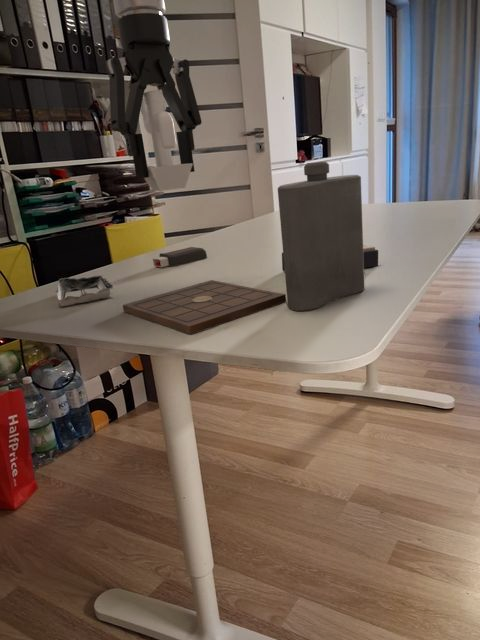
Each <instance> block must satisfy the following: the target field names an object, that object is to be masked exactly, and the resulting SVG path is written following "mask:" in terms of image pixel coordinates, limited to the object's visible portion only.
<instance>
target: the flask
mask: <svg viewBox="0 0 480 640" xmlns="http://www.w3.org/2000/svg"><path fill="white" fill-rule="evenodd" d="M303 173H304V174H303V175H304V176H306V180H303V181H296V182H292V183H291V182H290V183H286V184H282V185H279V186H278V187H277V199H278V210H279V220H280V231H281V232H280V233H281V242H282V243H281V245H282V253H283V256H284V268H285V271H284V278H285V287H286V288H285V290H286V302H287V307H288V309H290V310H292V311H294V312H295V311H296V312H308V311H312V310H316V309H318V308H319V307H322V306H324V305H326V304H328V303H330V302H333V301H336V300H338V299H341V298H344V297H348V296H351V295H355V294H359V293H361V292H363V291H364V290H365V268H364V257H363V245H364V234H363V233H364V229H363V201H362V200H363V199H362V198H363V197H362V176H361V175H359V174H346V175H337V176H336V175H335V176H328V174H329V173H330V163H329V162H327V161H315V162H306V164H304V166H303Z"/></svg>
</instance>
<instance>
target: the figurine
mask: <svg viewBox="0 0 480 640" xmlns="http://www.w3.org/2000/svg"><path fill="white" fill-rule="evenodd" d="M166 104H167V103H166V100H165V98H164V96H163V93H162V90H161V89H160V90H158V89H156V90H148V91H146V92H145V91H144V95H143V100H142V105H141V114H142V115H141V116H142V120H143V121H142V122H143V125H144V128H145V131H146V132H147V133H148V134H151V140H152V146H153V152H154V158H155V165H156V166H152V167H147V168H148V174H149V177H147V178H143V179H144V181H145V183H147V185H148V187H149V188H150V189H151V191H153V192H162V191H171V190H177V189H185V188H186V186H187V183H188V180H189V178H190V177H189V176H190V174H191V172H190V171H191V168H192V165H193V163H194V162H193V163H190V164H181V163H179V164H174V161H173V156H172V149H174V148H177V136H176V131H175V124H174V120H173V117H172V115H171V114H170V112H168V111H166V110H167V105H166Z"/></svg>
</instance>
